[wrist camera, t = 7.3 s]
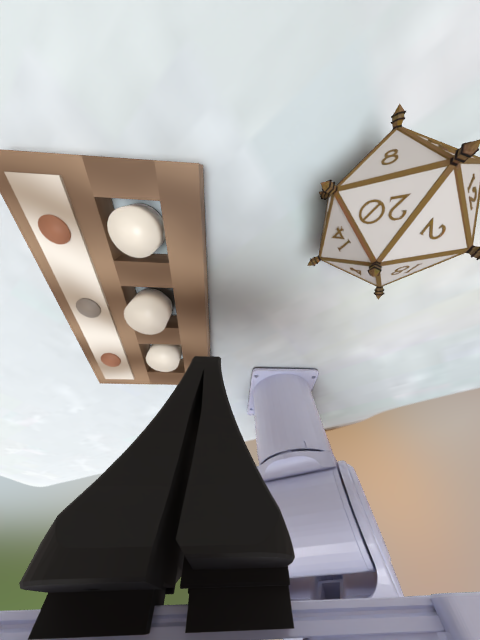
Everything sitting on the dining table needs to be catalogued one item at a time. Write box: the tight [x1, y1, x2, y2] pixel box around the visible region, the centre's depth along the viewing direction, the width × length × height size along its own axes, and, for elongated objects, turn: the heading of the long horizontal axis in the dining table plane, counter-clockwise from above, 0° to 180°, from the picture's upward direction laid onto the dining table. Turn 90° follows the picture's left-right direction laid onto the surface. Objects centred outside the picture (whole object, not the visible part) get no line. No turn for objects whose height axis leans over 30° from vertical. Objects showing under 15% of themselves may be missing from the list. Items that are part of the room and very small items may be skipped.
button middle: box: [124, 289, 173, 335], centre depth 17 cm, size 3×3×2 cm
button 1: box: [107, 203, 165, 258], centre depth 14 cm, size 3×3×2 cm
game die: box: [307, 104, 480, 299], centre depth 12 cm, size 9×8×10 cm
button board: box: [0, 150, 210, 385], centre depth 18 cm, size 20×12×2 cm, turn 177°
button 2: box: [146, 344, 182, 372], centre depth 21 cm, size 3×3×2 cm
